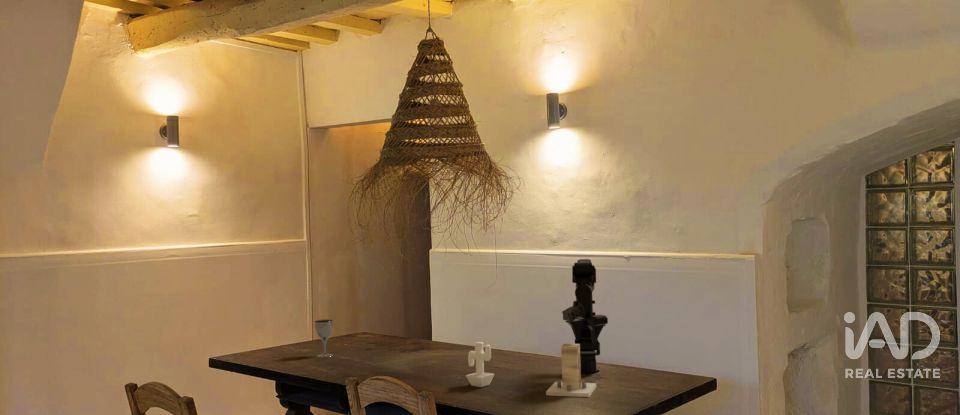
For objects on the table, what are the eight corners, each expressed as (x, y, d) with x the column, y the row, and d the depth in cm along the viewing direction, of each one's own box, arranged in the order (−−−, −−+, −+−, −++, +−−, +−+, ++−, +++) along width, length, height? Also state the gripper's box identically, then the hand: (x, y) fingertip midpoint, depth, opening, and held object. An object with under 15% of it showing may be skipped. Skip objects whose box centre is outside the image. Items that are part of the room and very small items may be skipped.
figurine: (476, 381, 285) (475, 339, 285) (497, 384, 279) (496, 341, 279) (463, 385, 279) (462, 342, 279) (484, 388, 273) (482, 344, 273)
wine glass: (325, 353, 349) (324, 318, 349) (338, 354, 344) (337, 320, 344) (311, 356, 343) (310, 321, 342) (324, 358, 338) (323, 322, 338)
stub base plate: (555, 385, 275) (555, 377, 275) (596, 386, 271) (596, 378, 271) (546, 395, 262) (546, 386, 262) (589, 397, 257) (588, 388, 257)
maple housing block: (565, 385, 269) (564, 343, 269) (581, 385, 268) (579, 343, 268) (562, 388, 264) (561, 346, 264) (578, 389, 263) (576, 346, 263)
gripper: (550, 297, 286) (551, 341, 286) (582, 302, 270) (583, 348, 270) (575, 295, 292) (576, 338, 292) (608, 299, 276) (609, 344, 276)
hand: (585, 342), depth 282 cm, fingers open, 9 cm apart
